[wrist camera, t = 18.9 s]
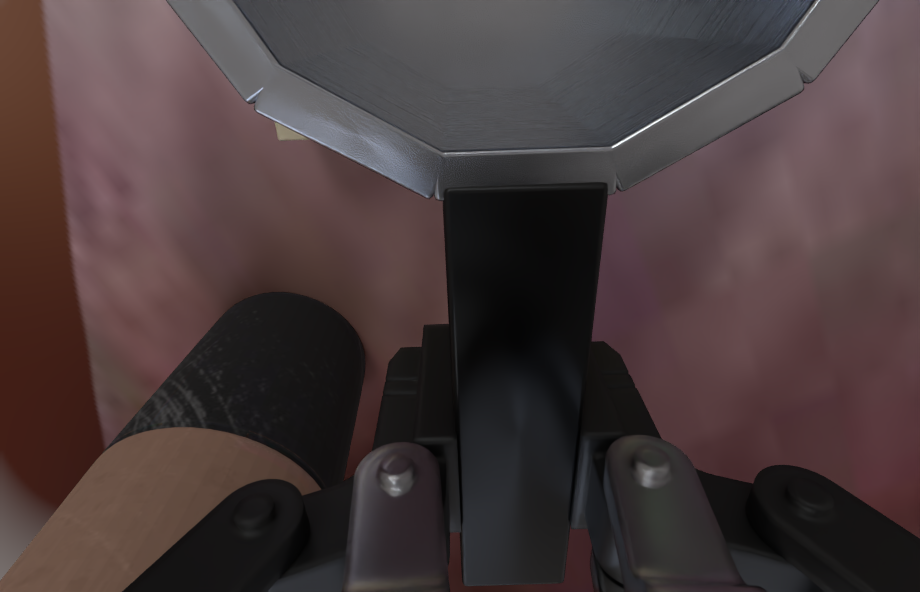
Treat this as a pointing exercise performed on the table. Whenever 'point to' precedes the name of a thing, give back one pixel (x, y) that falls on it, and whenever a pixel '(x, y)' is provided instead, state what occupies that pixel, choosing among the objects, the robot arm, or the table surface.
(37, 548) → the travel mug
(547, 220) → the saucepan
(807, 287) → the table surface
